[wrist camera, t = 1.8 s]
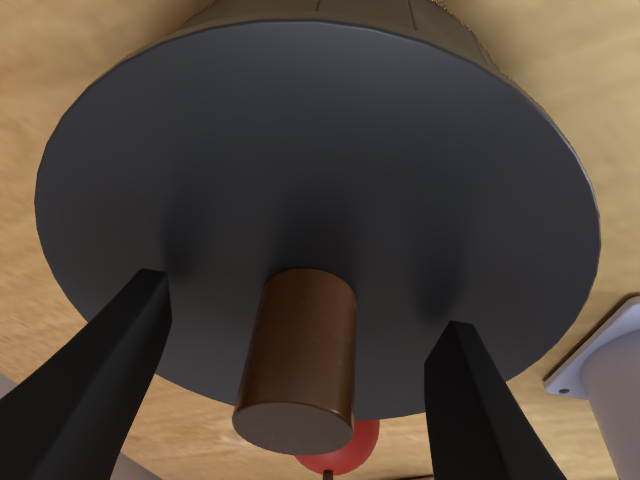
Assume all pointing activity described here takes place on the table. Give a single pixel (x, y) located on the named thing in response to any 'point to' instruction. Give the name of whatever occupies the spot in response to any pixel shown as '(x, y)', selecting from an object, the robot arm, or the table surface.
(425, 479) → the gift box
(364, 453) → the apple
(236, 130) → the lid
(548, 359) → the table surface
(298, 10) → the pan
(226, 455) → the table surface
